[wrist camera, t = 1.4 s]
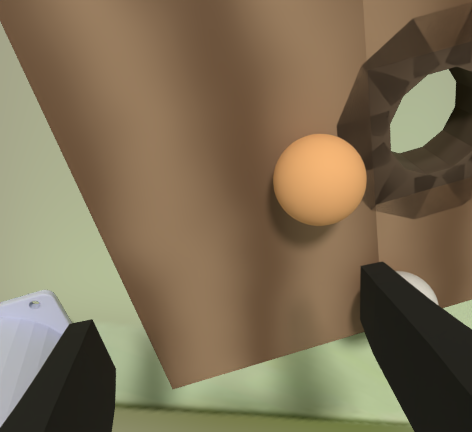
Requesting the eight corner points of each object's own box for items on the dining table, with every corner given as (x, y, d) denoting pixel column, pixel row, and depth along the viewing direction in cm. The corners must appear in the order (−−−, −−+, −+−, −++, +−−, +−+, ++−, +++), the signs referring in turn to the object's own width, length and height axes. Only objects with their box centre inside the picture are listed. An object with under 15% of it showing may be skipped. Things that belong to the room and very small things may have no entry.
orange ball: (271, 209, 19) (295, 254, 16) (256, 134, 17) (279, 170, 14) (348, 187, 19) (385, 228, 16) (341, 111, 18) (381, 142, 15)
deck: (170, 354, 26) (172, 389, 24) (-28, -93, 14) (-57, -102, 12) (490, 258, 27) (520, 284, 25) (544, -238, 15) (609, -269, 13)
